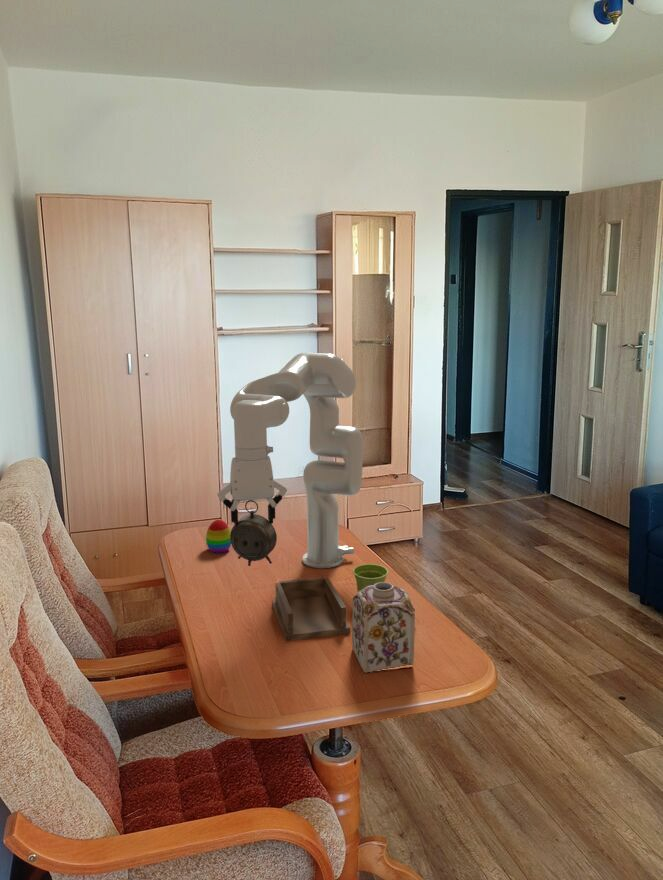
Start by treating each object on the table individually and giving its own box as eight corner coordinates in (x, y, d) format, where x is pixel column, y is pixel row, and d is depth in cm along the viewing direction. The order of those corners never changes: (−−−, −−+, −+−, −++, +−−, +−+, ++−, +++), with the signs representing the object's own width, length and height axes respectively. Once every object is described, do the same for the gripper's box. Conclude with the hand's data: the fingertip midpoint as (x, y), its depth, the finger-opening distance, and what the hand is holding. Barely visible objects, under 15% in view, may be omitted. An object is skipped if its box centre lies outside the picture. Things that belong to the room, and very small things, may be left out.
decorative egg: (211, 544, 234) (210, 515, 232) (235, 546, 233) (234, 516, 231) (202, 553, 227) (201, 523, 224) (227, 555, 225) (226, 525, 223)
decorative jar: (414, 669, 160) (416, 594, 156) (364, 675, 158) (364, 599, 154) (398, 642, 172) (400, 572, 168) (351, 648, 169) (351, 577, 165)
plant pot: (394, 603, 192) (395, 573, 190) (365, 611, 187) (365, 580, 185) (374, 590, 200) (375, 561, 198) (346, 598, 195) (346, 568, 193)
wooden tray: (330, 598, 195) (330, 576, 194) (350, 633, 176) (350, 608, 175) (272, 604, 191) (271, 582, 190) (285, 641, 172) (285, 616, 171)
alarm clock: (278, 561, 177) (276, 499, 173) (269, 570, 172) (267, 506, 168) (238, 556, 180) (235, 494, 176) (228, 564, 175) (225, 501, 171)
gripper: (284, 446, 175) (286, 515, 179) (212, 451, 171) (215, 521, 175) (290, 454, 168) (291, 525, 172) (215, 459, 164) (218, 531, 168)
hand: (253, 522), depth 174 cm, fingers closed on alarm clock, 7 cm apart
